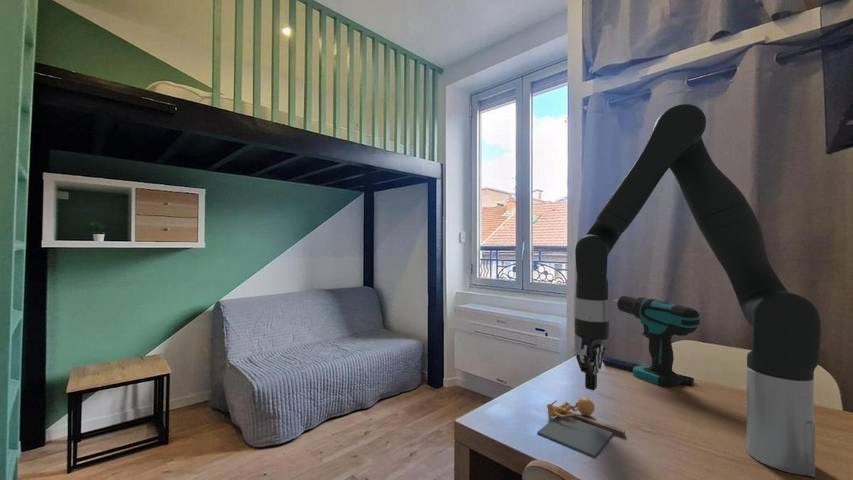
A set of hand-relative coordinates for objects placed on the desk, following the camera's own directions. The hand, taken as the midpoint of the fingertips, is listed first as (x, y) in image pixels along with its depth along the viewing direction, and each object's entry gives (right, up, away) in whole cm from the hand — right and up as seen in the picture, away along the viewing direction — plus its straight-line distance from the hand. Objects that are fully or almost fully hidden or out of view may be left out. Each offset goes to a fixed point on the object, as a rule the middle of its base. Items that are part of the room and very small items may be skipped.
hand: (591, 388), depth 84 cm
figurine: (+1, -7, +1) cm, 7 cm away
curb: (-2, -7, -2) cm, 8 cm away
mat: (-7, -7, -7) cm, 12 cm away
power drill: (+31, -8, +27) cm, 42 cm away
